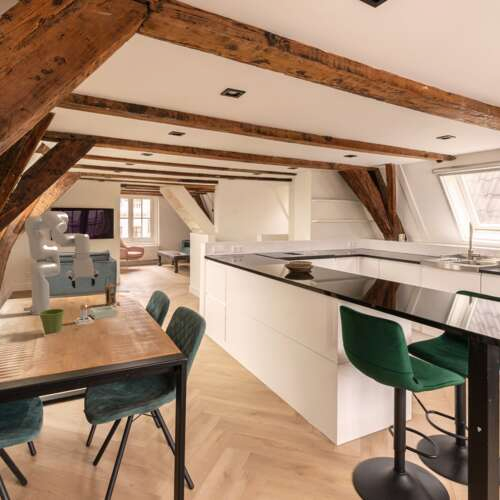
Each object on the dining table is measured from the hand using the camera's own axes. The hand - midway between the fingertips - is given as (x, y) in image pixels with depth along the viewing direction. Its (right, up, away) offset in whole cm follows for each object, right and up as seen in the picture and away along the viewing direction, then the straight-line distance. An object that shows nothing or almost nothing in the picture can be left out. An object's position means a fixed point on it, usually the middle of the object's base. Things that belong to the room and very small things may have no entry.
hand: (83, 286), depth 202 cm
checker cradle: (0, -21, +1) cm, 21 cm away
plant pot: (-9, -22, -16) cm, 29 cm away
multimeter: (+1, -17, +46) cm, 49 cm away
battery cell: (0, -20, +1) cm, 20 cm away
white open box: (+5, -20, +15) cm, 25 cm away
